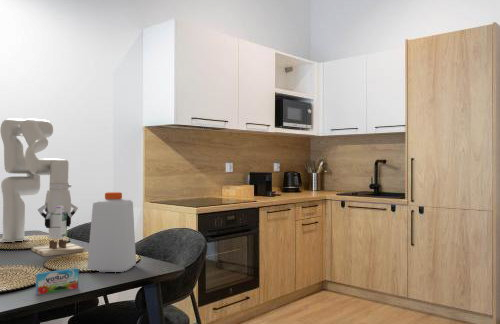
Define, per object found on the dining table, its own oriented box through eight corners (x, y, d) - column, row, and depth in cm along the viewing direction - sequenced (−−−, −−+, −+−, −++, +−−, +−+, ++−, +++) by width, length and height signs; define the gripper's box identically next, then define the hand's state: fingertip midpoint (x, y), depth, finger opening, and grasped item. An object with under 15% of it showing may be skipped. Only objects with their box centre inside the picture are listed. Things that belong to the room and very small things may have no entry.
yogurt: (37, 295, 130) (37, 274, 130) (35, 294, 131) (35, 273, 131) (78, 288, 138) (78, 268, 138) (76, 287, 139) (76, 267, 139)
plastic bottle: (139, 264, 172) (140, 191, 172) (124, 274, 156) (125, 194, 157) (101, 263, 173) (102, 191, 173) (82, 272, 158) (84, 193, 158)
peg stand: (31, 250, 197) (31, 239, 197) (70, 246, 208) (70, 236, 208) (43, 256, 184) (43, 245, 184) (84, 251, 196) (84, 241, 196)
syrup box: (61, 239, 194) (62, 205, 194) (47, 238, 194) (48, 205, 194) (67, 236, 199) (67, 204, 199) (53, 236, 199) (54, 204, 200)
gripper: (75, 186, 205) (74, 224, 205) (35, 187, 194) (34, 227, 194) (81, 187, 200) (80, 226, 200) (40, 188, 188) (39, 229, 188)
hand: (57, 226), depth 197 cm, fingers closed on syrup box, 8 cm apart
